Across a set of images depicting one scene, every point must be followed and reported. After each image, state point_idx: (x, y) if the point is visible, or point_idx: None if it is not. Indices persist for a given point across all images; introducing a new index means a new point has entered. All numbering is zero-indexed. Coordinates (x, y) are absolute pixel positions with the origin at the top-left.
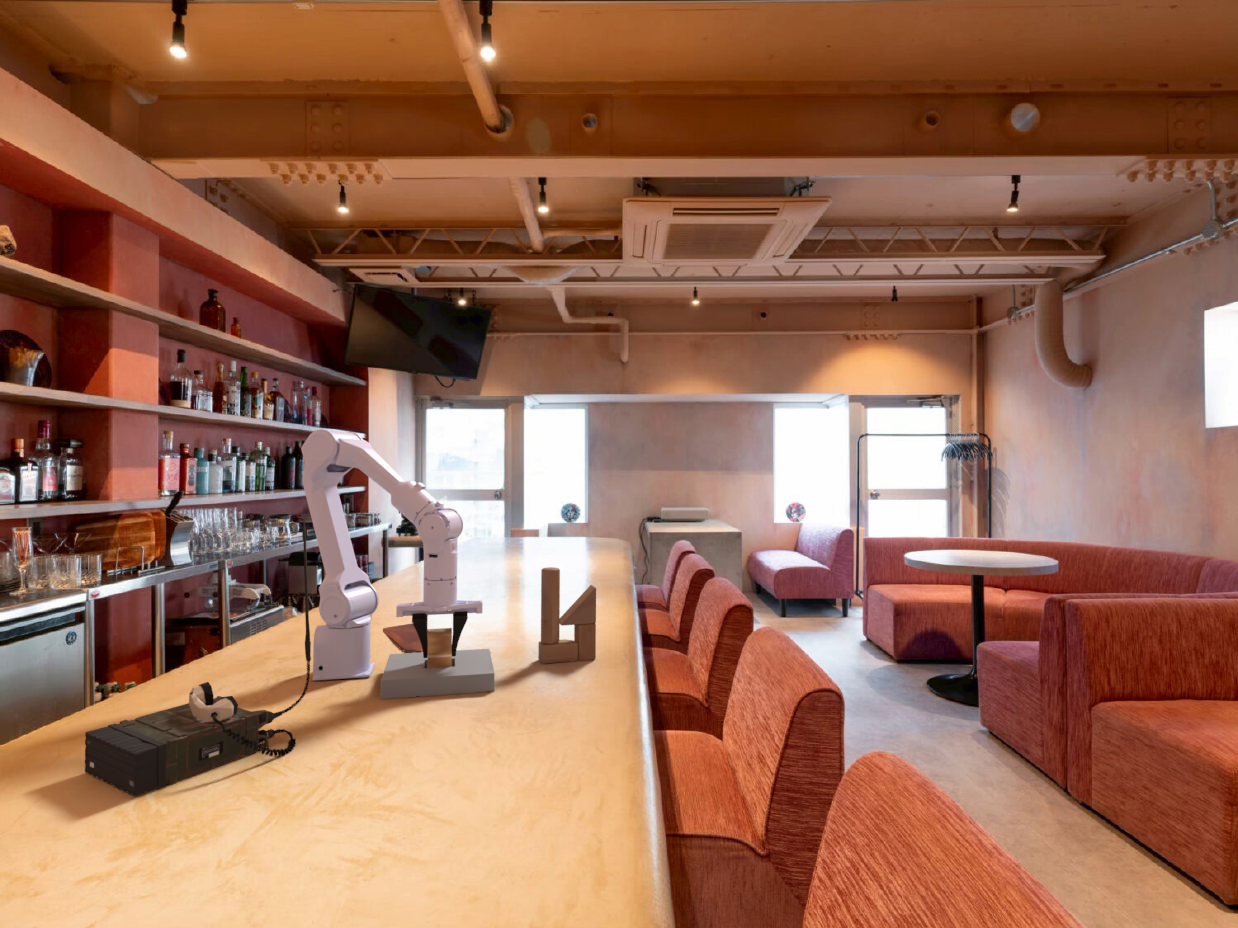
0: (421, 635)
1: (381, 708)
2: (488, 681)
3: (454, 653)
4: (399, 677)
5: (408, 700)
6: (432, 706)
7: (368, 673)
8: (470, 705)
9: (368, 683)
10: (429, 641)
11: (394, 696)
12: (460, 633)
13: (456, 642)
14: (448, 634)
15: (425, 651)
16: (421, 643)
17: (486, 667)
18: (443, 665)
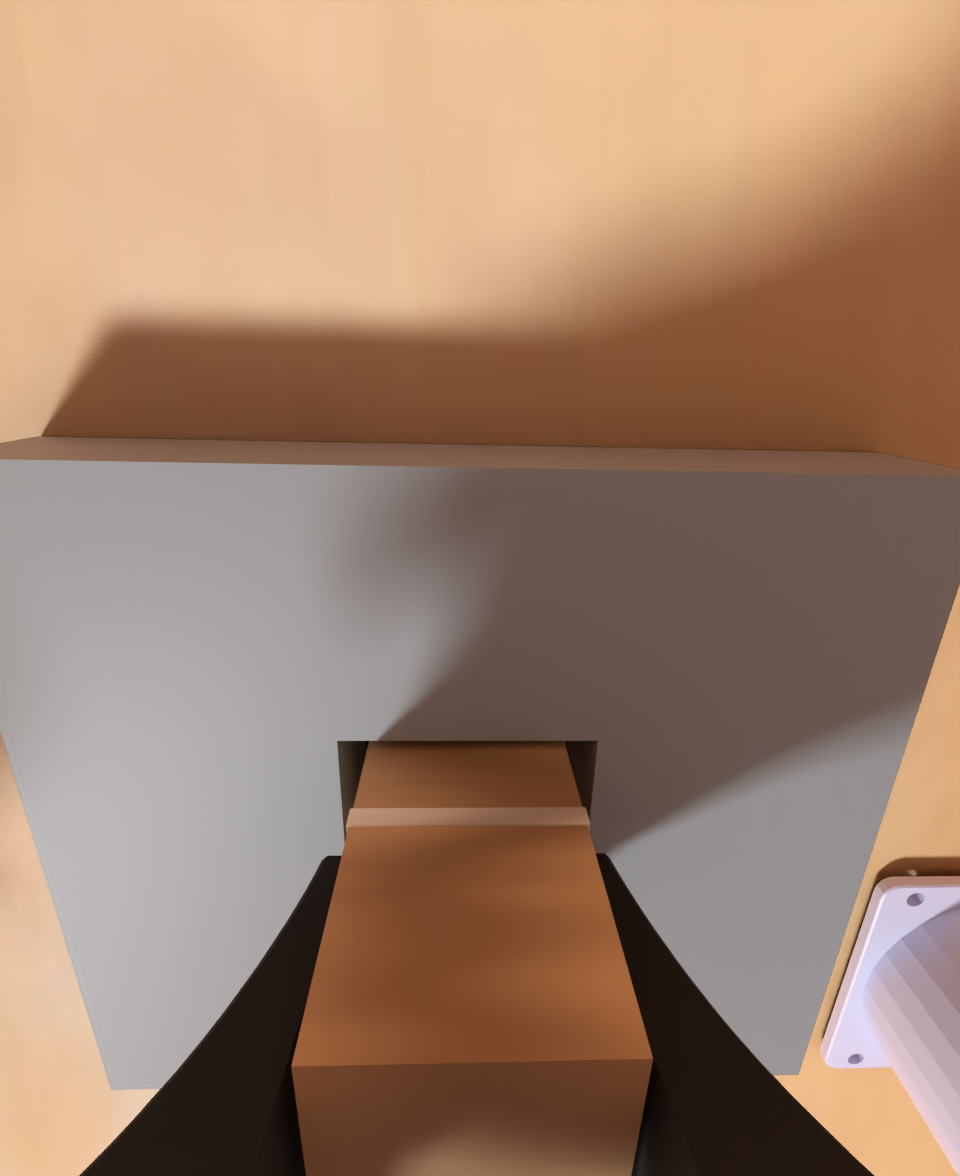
0: (726, 1064)
1: (909, 222)
2: (33, 448)
3: (326, 870)
4: (824, 528)
5: (693, 374)
6: (520, 157)
7: (888, 907)
8: (195, 86)
9: (894, 784)
10: (601, 958)
11: (791, 453)
12: (173, 1078)
13: (273, 964)
14: (344, 1046)
15: (609, 893)
16: (680, 968)
17: (42, 659)
18: (434, 757)
